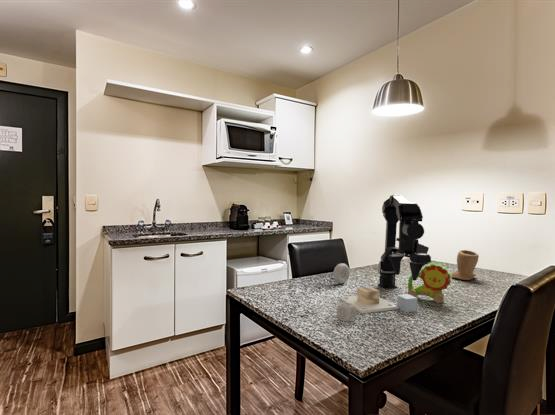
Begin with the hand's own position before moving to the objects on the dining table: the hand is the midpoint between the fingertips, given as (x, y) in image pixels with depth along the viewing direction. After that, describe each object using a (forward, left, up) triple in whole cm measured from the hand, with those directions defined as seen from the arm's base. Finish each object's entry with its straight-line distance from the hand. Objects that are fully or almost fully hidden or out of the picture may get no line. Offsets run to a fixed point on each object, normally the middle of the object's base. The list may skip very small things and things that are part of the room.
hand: (405, 277), depth 118 cm
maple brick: (+10, -9, -11) cm, 17 cm away
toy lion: (-18, -7, -12) cm, 22 cm away
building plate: (+10, -9, -12) cm, 18 cm away
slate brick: (-1, 0, -12) cm, 12 cm away
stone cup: (-65, -30, -12) cm, 72 cm away
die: (+26, +2, -12) cm, 29 cm away
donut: (+5, -38, -12) cm, 40 cm away
